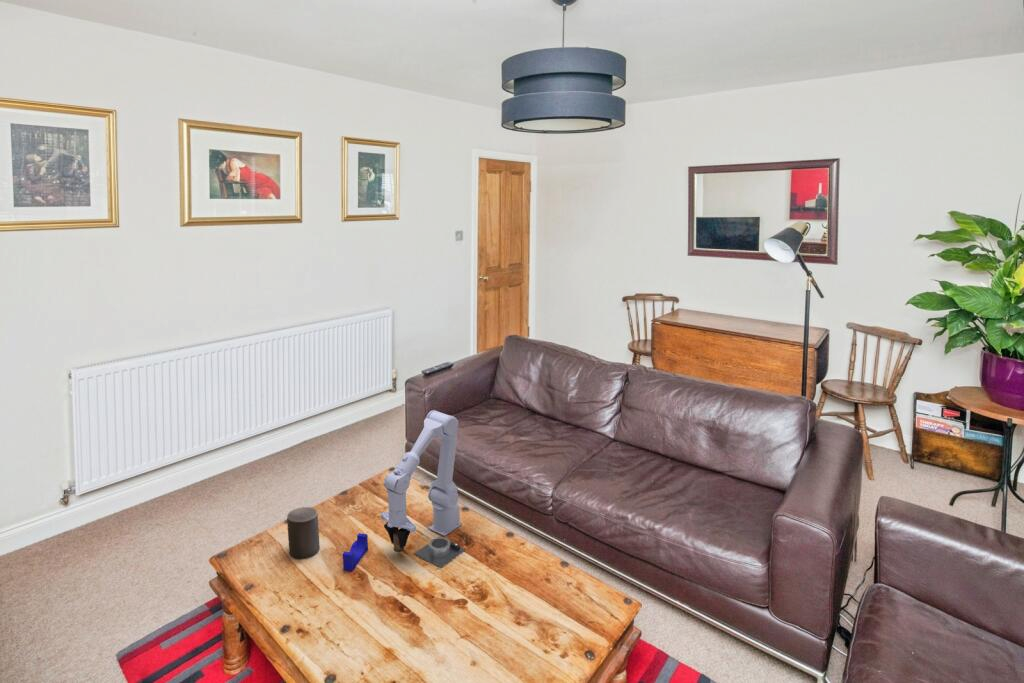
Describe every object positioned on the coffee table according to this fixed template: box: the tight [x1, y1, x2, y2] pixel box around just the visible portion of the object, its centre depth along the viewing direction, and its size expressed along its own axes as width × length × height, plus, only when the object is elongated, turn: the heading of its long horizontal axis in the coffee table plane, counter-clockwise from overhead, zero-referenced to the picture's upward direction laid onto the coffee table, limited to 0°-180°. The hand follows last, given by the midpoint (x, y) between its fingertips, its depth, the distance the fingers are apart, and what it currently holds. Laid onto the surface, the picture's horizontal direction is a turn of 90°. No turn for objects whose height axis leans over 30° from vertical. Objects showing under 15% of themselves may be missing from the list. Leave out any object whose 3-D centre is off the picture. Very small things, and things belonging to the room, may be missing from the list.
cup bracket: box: [413, 535, 466, 569], centre depth 197 cm, size 12×12×4 cm
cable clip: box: [342, 532, 369, 572], centre depth 193 cm, size 12×4×6 cm, turn 169°
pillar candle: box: [286, 506, 321, 560], centre depth 196 cm, size 10×10×15 cm
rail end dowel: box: [393, 531, 405, 553], centre depth 195 cm, size 4×4×6 cm
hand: (398, 544), depth 195 cm, fingers closed on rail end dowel, 3 cm apart
